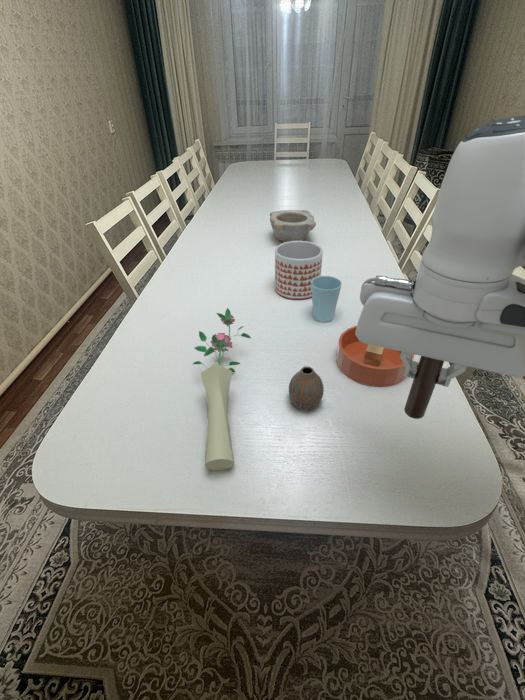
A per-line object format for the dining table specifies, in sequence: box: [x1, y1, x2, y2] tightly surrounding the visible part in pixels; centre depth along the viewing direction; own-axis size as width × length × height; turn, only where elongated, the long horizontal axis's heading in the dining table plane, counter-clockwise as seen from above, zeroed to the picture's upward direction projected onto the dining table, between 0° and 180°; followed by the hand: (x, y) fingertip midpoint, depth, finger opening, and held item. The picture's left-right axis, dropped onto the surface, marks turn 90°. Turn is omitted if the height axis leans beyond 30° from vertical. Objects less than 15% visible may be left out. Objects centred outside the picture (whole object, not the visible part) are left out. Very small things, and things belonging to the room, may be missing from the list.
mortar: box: [269, 209, 317, 243], centre depth 139 cm, size 17×17×9 cm
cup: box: [311, 275, 342, 323], centre depth 95 cm, size 8×8×10 cm
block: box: [364, 344, 384, 366], centre depth 81 cm, size 4×4×4 cm
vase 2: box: [274, 240, 324, 300], centre depth 106 cm, size 14×14×13 cm
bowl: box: [336, 325, 415, 387], centre depth 81 cm, size 16×16×5 cm
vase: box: [288, 365, 325, 411], centre depth 71 cm, size 7×7×9 cm
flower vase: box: [192, 307, 252, 471], centre depth 72 cm, size 12×12×35 cm
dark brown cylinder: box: [403, 356, 445, 420], centre depth 49 cm, size 3×3×13 cm
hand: (425, 378), depth 49 cm, fingers closed on dark brown cylinder, 3 cm apart
